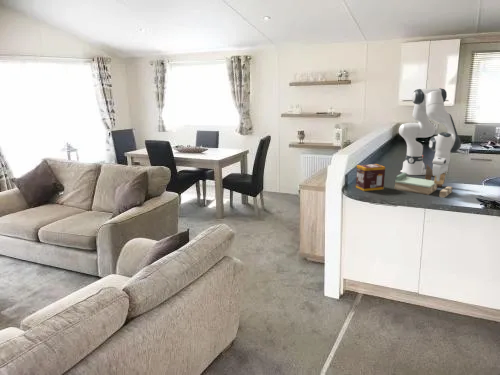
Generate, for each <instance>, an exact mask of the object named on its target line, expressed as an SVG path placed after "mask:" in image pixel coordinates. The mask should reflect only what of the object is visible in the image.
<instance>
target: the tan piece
mask: <svg viewBox="0 0 500 375" xmlns="http://www.w3.org/2000/svg"><path fill="white" fill-rule="evenodd" d="M394 190H395V191H396V190H397V191H403V192H407V193H415V194H420V195H427V196H429V195H431V194H433V193H434V192H436V191H437V190H438V187H437V184H435V185H434V186H432V187H430V188H428V187H422V186H415V185H409V184H403V183H396V182H394ZM452 192H453V186H449V185H447V186H446V187H444V188H443V189H441V190H440V191H439V196H438V197H439V198H442V199H443V198H446V197H447V196H449V195H450V194H451V193H452Z"/></svg>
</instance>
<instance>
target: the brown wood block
mask: <svg viewBox="0 0 500 375" xmlns="http://www.w3.org/2000/svg"><path fill="white" fill-rule="evenodd" d="M436 179H437V178H436V176H434V179H433V180H434V183H436V184H442V185H444V184H445V180H446V172H444V173H443V174H441V175H440V181H436Z"/></svg>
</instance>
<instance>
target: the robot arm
mask: <svg viewBox="0 0 500 375" xmlns="http://www.w3.org/2000/svg"><path fill="white" fill-rule="evenodd" d="M447 96H448V94H447V90H446V89H444V88H441V87H440V88H435V87H431V88H418V89H415V90H413V93H412V95H411V100H412V103H413V104H414V105H413V111H412V113H411V114H412V118H413V119H414V120H415V121H416V122H406V123H402V124H401V125H400V126H399V128H398V133H399V136H401V137H402V138H403V139H404V141H405V143H406V155H405V160H404V161H403V162H402V169H401V170H400V173H407V174H406V175H409V176H426V169H425V164H426V163H424V161H423V158H424V154H423V152H424V145H423V144H422V143H421V142H419V141H417V140H416V139H418V138H429V137H430V139H429V141H428V148H429V149H430V150H431V151H432V152H435V153H434V156H433V159H432V170H433V176H432V177H435V176H436V178H437V179H436V181H440V175H441V174H443V173H446V172H448V169H449V163H450V161H451V153H456V152H457V151H459V149H461V146H462V142H461V138H460V137H459V134H458V132H457V128H456V126H455V122H454V119H453V116H452V114H451V113H449V112H448V111H447V109H446V108H445V101H446V100H447ZM430 120H431V121H434V122H436V123H439V124H442V125H443V126H445V128H446V132H445V131H444V132H443V131H442V132H439V133H438V134H437V135H435V136H434V134H435V133H436V126H435V125H434V124H433V123H432V122H431V121H430Z"/></svg>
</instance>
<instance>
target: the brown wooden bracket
mask: <svg viewBox="0 0 500 375" xmlns="http://www.w3.org/2000/svg"><path fill="white" fill-rule="evenodd" d="M425 170H426V174H425V175H424V176H425V178H424V179H426V180H432V181H434V179H432V177H434V176H433V168H431V167H430V166H429V165H428V164H426V169H425ZM442 187H443V184H437V188H442Z"/></svg>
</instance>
